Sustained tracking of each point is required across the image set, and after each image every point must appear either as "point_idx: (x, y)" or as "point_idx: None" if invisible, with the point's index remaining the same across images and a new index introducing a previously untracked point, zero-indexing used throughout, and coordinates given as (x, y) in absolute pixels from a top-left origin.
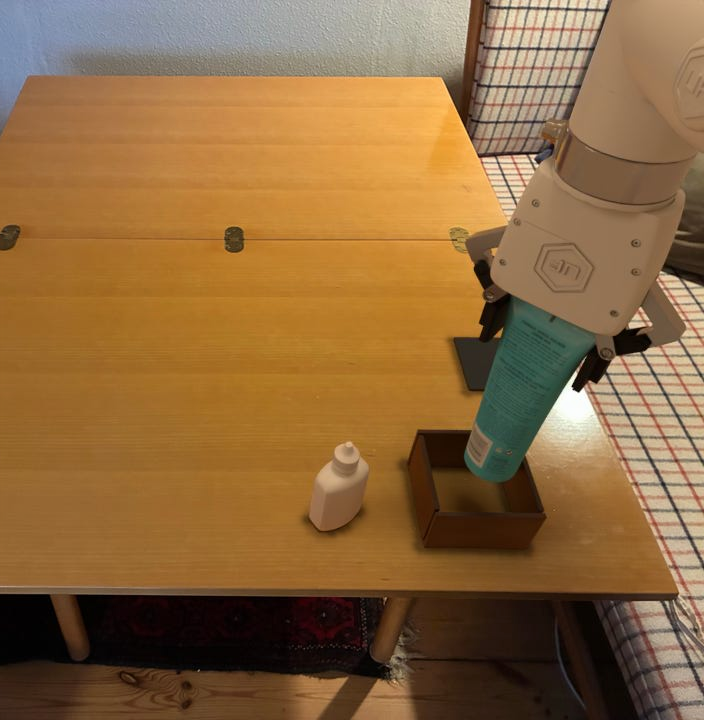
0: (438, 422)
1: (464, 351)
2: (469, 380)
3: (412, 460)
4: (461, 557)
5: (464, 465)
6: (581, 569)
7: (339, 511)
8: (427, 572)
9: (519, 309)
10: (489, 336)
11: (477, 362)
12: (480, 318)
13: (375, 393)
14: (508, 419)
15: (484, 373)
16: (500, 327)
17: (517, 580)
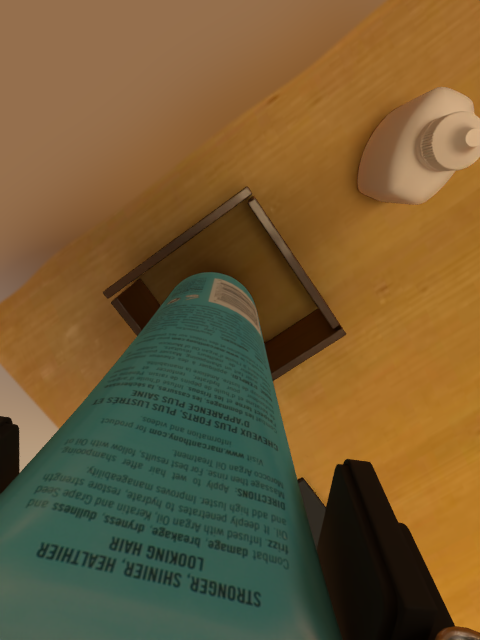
0: (318, 401)
1: None
2: (309, 493)
3: (325, 302)
4: (196, 205)
5: None
6: (59, 286)
7: (390, 122)
8: (225, 150)
9: None
10: (344, 485)
11: (312, 529)
12: (413, 542)
13: (424, 399)
14: (189, 330)
15: None
16: (323, 549)
17: (118, 218)
